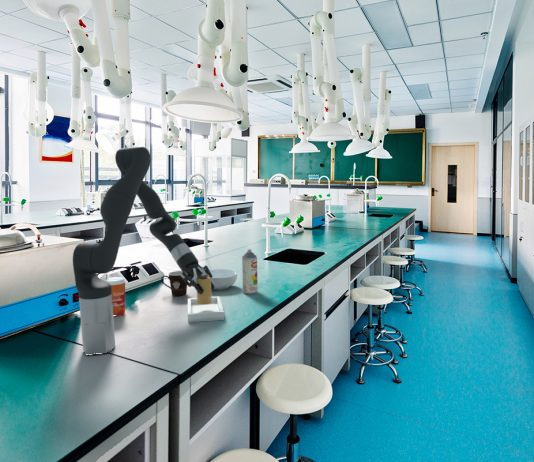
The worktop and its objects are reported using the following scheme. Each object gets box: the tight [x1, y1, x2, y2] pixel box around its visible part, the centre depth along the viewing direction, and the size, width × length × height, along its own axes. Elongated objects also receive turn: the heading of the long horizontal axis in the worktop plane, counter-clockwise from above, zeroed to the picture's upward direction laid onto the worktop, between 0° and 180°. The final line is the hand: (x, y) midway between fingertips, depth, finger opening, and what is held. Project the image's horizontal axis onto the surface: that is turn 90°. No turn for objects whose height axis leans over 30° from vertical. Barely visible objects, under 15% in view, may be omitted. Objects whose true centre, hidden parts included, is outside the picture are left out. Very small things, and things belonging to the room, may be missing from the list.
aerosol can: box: [241, 248, 259, 296], centre depth 181 cm, size 7×7×20 cm
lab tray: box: [187, 296, 225, 323], centre depth 156 cm, size 20×13×3 cm, turn 11°
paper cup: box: [105, 276, 127, 316], centre depth 154 cm, size 8×8×14 cm
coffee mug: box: [160, 270, 188, 298], centre depth 180 cm, size 12×9×10 cm
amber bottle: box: [196, 274, 213, 304], centre depth 155 cm, size 6×6×11 cm
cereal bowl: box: [208, 268, 238, 291], centre depth 191 cm, size 17×17×7 cm
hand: (207, 290), depth 154 cm, fingers closed on amber bottle, 5 cm apart
